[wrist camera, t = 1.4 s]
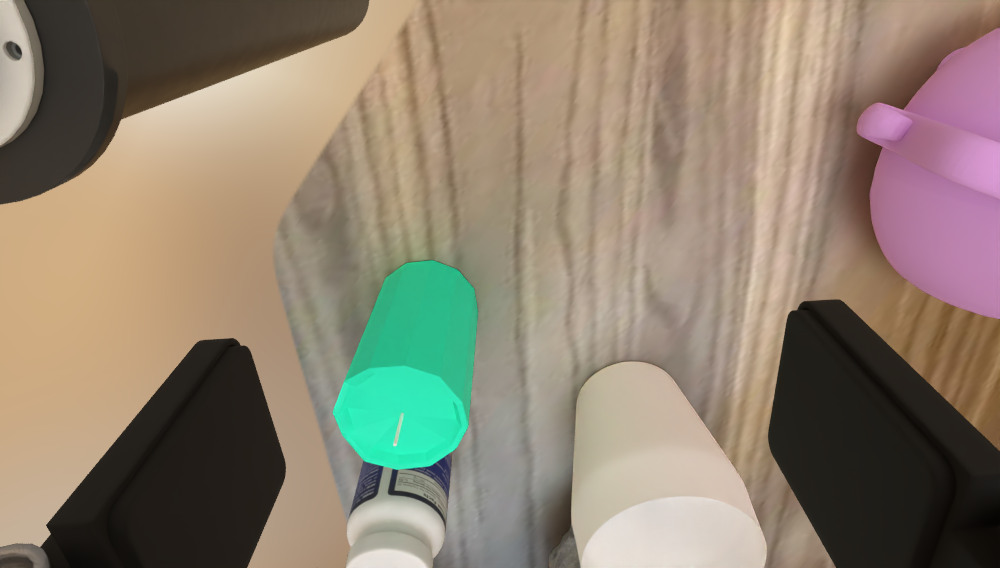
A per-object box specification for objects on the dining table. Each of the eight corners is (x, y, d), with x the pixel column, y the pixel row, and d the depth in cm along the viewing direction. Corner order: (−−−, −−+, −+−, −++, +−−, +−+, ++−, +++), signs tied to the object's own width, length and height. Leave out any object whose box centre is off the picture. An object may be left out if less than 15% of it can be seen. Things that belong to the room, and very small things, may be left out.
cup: (543, 361, 38) (558, 514, 27) (688, 329, 37) (763, 476, 26) (573, 466, 42) (597, 635, 31) (705, 440, 41) (776, 607, 30)
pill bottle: (387, 485, 43) (357, 621, 34) (355, 425, 40) (314, 555, 31) (464, 468, 42) (454, 602, 33) (437, 406, 39) (418, 533, 31)
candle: (453, 245, 34) (429, 367, 23) (493, 329, 37) (488, 474, 26) (359, 280, 35) (295, 413, 25) (405, 359, 38) (365, 511, 27)
